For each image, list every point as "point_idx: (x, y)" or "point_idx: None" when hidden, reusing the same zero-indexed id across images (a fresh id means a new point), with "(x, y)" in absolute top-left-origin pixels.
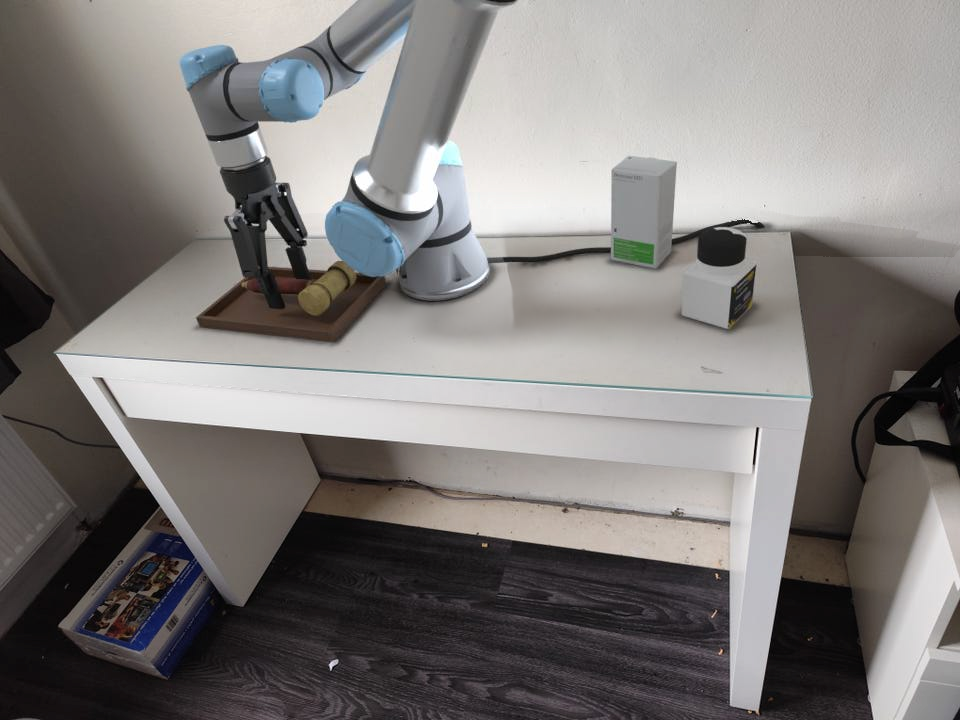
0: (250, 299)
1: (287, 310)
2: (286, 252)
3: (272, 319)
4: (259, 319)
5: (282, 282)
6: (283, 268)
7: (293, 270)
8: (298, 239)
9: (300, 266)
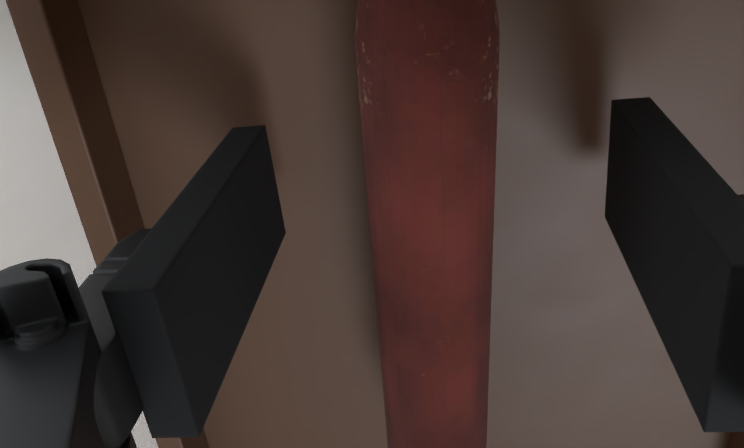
0: None
1: (531, 134)
2: (209, 409)
3: None
4: None
5: (463, 249)
6: None
7: (259, 284)
8: (33, 369)
9: (228, 229)
